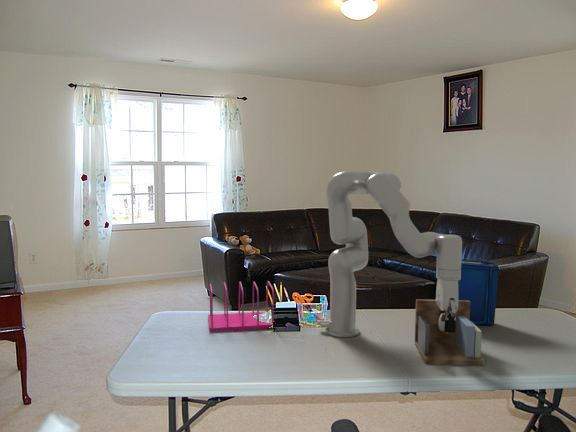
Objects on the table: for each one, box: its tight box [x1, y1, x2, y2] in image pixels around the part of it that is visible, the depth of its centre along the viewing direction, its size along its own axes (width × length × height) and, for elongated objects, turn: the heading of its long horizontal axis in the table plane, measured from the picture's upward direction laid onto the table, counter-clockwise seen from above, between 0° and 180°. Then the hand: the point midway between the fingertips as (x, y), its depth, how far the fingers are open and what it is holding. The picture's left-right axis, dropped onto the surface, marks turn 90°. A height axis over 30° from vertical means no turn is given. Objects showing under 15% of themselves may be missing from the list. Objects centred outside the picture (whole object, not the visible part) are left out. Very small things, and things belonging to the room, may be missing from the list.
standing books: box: [456, 316, 483, 358], centre depth 162 cm, size 5×11×10 cm, turn 177°
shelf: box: [414, 298, 485, 367], centre depth 163 cm, size 18×18×16 cm
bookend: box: [418, 315, 430, 356], centre depth 163 cm, size 1×11×10 cm, turn 177°
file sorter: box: [207, 280, 275, 333], centre depth 193 cm, size 17×25×16 cm
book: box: [458, 259, 500, 327], centre depth 195 cm, size 22×7×25 cm, turn 84°
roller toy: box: [439, 313, 449, 334], centre depth 159 cm, size 4×6×6 cm
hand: (446, 328), depth 159 cm, fingers closed on roller toy, 6 cm apart
